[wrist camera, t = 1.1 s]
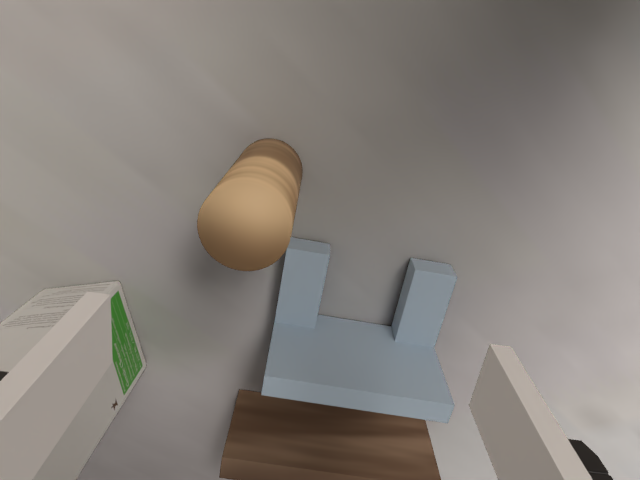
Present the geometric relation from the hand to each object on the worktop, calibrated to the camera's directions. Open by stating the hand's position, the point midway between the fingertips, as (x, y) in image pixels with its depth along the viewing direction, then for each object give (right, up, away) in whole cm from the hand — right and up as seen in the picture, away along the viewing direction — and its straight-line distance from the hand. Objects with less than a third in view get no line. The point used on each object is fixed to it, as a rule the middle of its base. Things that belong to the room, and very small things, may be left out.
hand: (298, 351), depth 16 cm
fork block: (+3, -2, +20) cm, 20 cm away
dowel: (-3, +9, +16) cm, 18 cm away
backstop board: (+2, -11, +24) cm, 26 cm away
